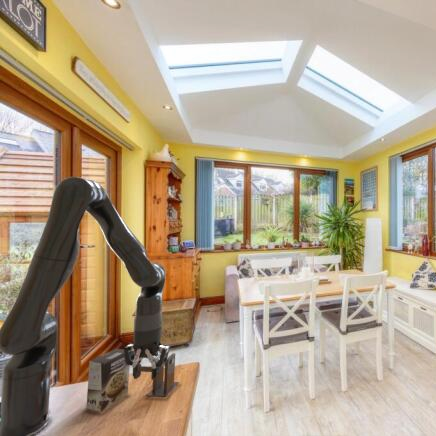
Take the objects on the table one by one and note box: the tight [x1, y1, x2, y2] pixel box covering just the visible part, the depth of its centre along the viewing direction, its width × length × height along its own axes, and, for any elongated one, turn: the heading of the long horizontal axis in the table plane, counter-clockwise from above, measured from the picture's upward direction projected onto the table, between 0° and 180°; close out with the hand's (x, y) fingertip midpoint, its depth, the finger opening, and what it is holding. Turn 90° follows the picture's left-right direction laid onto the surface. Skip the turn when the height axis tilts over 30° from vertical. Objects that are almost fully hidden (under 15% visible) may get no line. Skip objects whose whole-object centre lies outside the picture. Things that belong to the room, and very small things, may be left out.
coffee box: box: [86, 348, 131, 413], centre depth 87 cm, size 9×6×16 cm
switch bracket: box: [145, 353, 180, 398], centre depth 94 cm, size 8×7×13 cm
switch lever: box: [137, 356, 169, 373], centre depth 89 cm, size 12×5×2 cm, turn 1°
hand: (146, 377), depth 84 cm, fingers closed on switch lever, 5 cm apart
